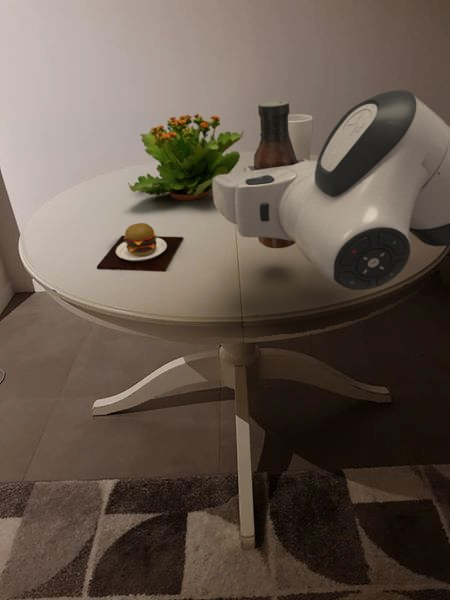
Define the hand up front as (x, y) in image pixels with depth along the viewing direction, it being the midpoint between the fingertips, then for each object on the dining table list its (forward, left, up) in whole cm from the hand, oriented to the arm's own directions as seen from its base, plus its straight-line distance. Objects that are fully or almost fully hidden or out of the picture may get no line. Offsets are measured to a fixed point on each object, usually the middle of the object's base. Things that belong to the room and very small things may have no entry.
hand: (274, 168), depth 66 cm
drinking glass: (-23, -31, -16) cm, 41 cm away
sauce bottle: (0, +1, -11) cm, 11 cm away
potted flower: (-2, -41, -16) cm, 44 cm away
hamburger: (+17, -17, -16) cm, 29 cm away
